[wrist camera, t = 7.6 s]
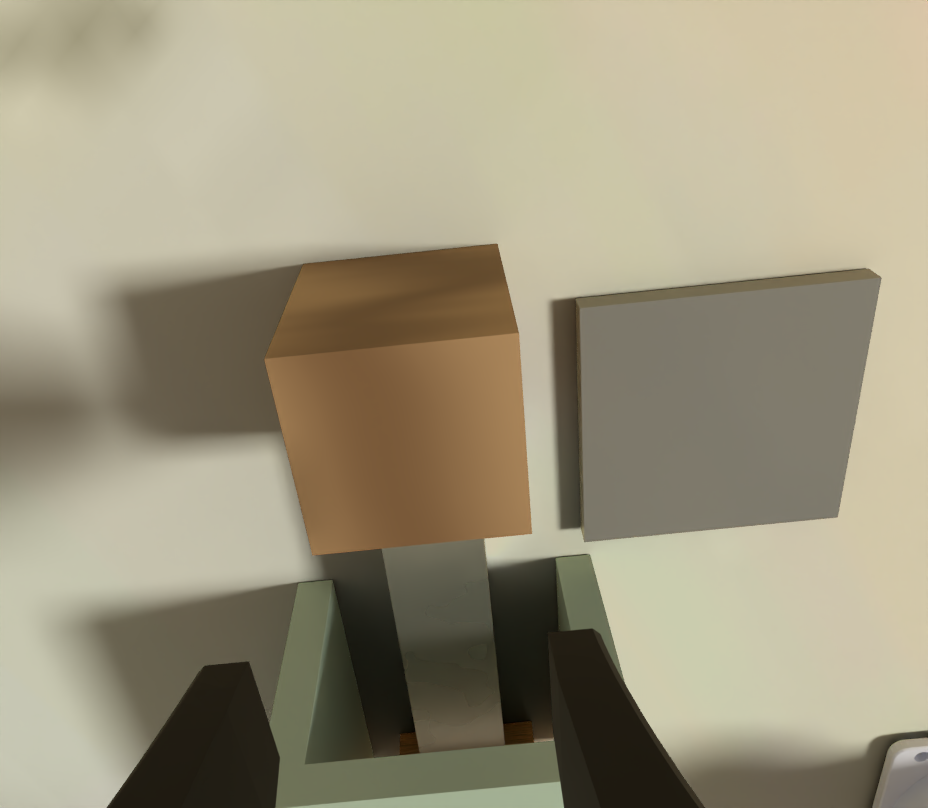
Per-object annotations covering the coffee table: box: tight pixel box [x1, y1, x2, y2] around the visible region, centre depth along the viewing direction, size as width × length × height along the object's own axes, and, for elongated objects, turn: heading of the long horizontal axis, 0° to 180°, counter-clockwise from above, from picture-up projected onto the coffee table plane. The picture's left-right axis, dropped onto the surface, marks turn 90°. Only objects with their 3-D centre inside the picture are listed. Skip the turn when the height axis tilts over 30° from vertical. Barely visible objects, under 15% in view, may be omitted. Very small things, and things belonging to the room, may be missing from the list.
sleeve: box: [269, 555, 625, 808], centre depth 22 cm, size 8×8×7 cm
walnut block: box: [264, 244, 532, 555], centre depth 17 cm, size 4×4×5 cm
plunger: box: [382, 539, 534, 755], centre depth 22 cm, size 4×14×4 cm, turn 5°
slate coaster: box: [575, 269, 881, 542], centre depth 20 cm, size 7×7×1 cm
